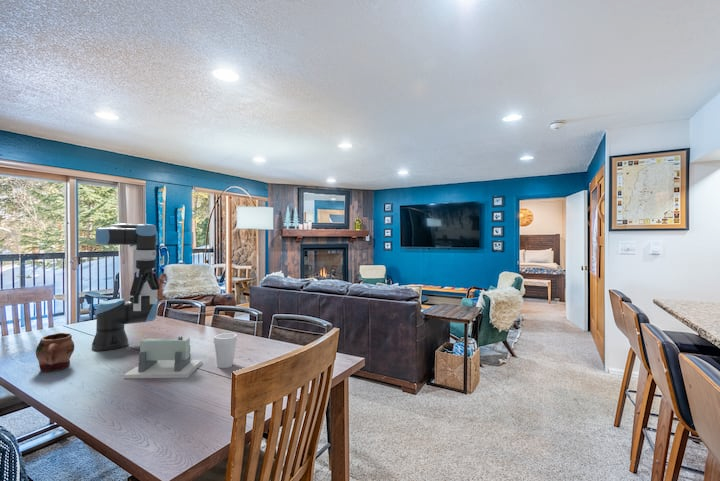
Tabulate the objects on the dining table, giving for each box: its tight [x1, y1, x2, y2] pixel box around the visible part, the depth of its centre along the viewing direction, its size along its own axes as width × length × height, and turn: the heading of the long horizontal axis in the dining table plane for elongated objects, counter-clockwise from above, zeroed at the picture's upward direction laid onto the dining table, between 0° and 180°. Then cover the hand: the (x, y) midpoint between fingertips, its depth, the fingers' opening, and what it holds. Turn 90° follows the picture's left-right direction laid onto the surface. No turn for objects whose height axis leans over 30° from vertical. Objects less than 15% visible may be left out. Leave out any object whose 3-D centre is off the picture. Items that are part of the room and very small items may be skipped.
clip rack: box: [123, 351, 203, 379], centre depth 147 cm, size 16×24×9 cm, turn 94°
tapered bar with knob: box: [139, 336, 191, 361], centre depth 146 cm, size 4×18×9 cm, turn 95°
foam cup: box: [213, 332, 238, 369], centre depth 153 cm, size 10×9×13 cm
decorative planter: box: [35, 332, 75, 373], centre depth 146 cm, size 20×12×14 cm, turn 36°
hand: (145, 307), depth 155 cm, fingers open, 13 cm apart
